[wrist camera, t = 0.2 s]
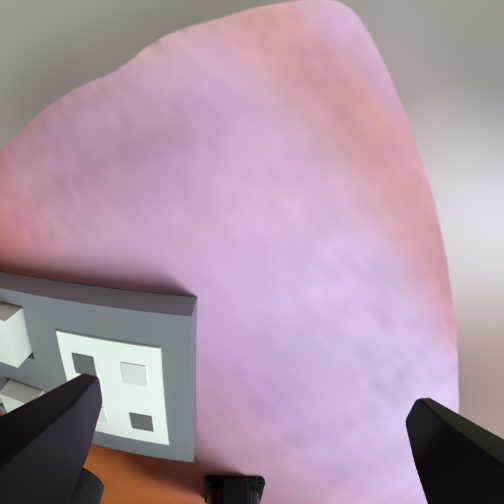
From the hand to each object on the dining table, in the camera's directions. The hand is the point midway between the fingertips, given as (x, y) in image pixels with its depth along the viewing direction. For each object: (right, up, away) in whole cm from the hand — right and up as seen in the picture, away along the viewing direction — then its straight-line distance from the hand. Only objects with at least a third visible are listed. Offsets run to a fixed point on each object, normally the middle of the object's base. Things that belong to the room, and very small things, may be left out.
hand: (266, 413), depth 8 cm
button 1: (-20, -2, +13) cm, 24 cm away
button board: (-18, -5, +16) cm, 24 cm away
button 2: (-21, -9, +15) cm, 27 cm away
